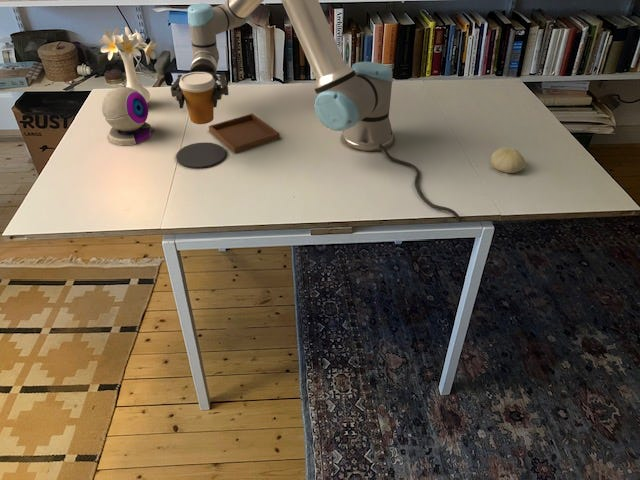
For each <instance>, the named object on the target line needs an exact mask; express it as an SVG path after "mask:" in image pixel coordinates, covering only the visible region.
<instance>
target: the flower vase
mask: <svg viewBox="0 0 640 480" xmlns="http://www.w3.org/2000/svg"><path fill="white" fill-rule="evenodd" d="M124 31H125V32H124V33H123V34H120V35H119V33H120V29H119V27H118V28H115V29H114V30H113V32H111V31H110V30H109V29H104V30H103V35H102V37H101V38H100V39H98V43H99V44H105V45H103V46H101V48H100V53H102V54H103V53H104V54H105V53H107V59H108V61H111V60H112V59H113V56H114V54H117V53H118V54H119V55H120V57H121V59H122V62H123V65H124V70H125V71H124V72H125V75H126V85H125V87H129V88H132V89H135V90H136V91H138V92H139V93H140V94H141V95H142V96H143V97H144V98H145V100H146V102H147V104H148V103H150V100H151V98H152V96H151V93H150V91H149V90H148V89H147V88H146V87H145V86H143V85H142V83H141V82H140V81H139V78H138V75H137V71H136V68H135V64H134V56H136V57H141V56H142V53H141V51H140V50H142V51H144V55H145V57H146V64H147V65H149V64H150V62H151V59H152V60H155V59H156V57H157V55H156V53H155V52H154V50H156V48H157V47H158V44H159V43H158V42H155V43H154V41H153V40H150V42H149V43H148V44H147V43H146V42H145V41H144V39H143V36H142V35H141V33H140V32H138V31H137V29H136V28H135V33H133V34H132V31H131V30H130V28H129V27H127V26H125V27H124ZM139 49H140V50H139Z"/></svg>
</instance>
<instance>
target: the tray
mask: <svg viewBox="0 0 640 480" xmlns="http://www.w3.org/2000/svg"><path fill="white" fill-rule="evenodd" d="M208 132H209V133H210V134H212V135H213V136H214V137H215V139H217V140H218V141H220V142H221V143H222V144H223V145H224V146H225V147H227V148H228V149H229V150H230V151H232V152H233V153H234V154H237V153H241V152H243V151H247V150H250V149H252V148H253V149H254V148H256V147H258V146H262V145H266V144H268V143H272V142H275V141H278V140H280V139H281V135H280V133H281V132H279V131H277V130H276V129H274V127H272V126H270V125H269V124H268V123H266V122H265V121H263V120H262V119H261V118H259V117H258V116H256V115H255V114H254V113H249V114H245V115H242V116H238V117H234V118H231V119H228V120H225V121H221V122H218V123H214V124H210V125H208Z"/></svg>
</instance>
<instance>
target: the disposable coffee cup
mask: <svg viewBox="0 0 640 480" xmlns="http://www.w3.org/2000/svg"><path fill="white" fill-rule="evenodd" d="M214 84H215V80H214V79H213V76H212V75H211V74H209V73H205V72H192V73H190V72H188V73H185V74H183V75H182V77H181V78H180V82H179V86H180V87H181V89H182V92H183V95H184V98H185V101H184V103H185V105H186V108H187V111H188V115H189V119H190V122H191V123H193V124H195V125H205V124H206V125H207V124H209V123H212V122H213V121H214V119H215V118H214V112H215V111H214V108H215V107H214V105H213V91H214Z"/></svg>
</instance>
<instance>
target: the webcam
mask: <svg viewBox="0 0 640 480" xmlns="http://www.w3.org/2000/svg"><path fill="white" fill-rule="evenodd" d="M101 103H102V104H101V112H102V116H103V118H104V120H105V121H106V123H107V124H108V125H109V126H111V128H110V129H109V131H108V138H109V140H110V142H112V144H114V145H115V144H116V145H120V146H133V145H134V146H135V145H136V144H137V143H140V142H143V141H145V140H147V139H148V138H149V137H150V136H151V132H153V131H154V130H153V126H152V125H151V123H148V122H146V121H147V120H148V116H149V105H148V103H147V102H146V100H145V98H144V97H143V96H142V95H141V94H140V93H139V92H138V91H136V90H135V89H132V88H129V87H126V86H118V87H116V88H112V89H111V90H109V91H108V93H106V94H105V96H104V98H103V100H102V102H101Z"/></svg>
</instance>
